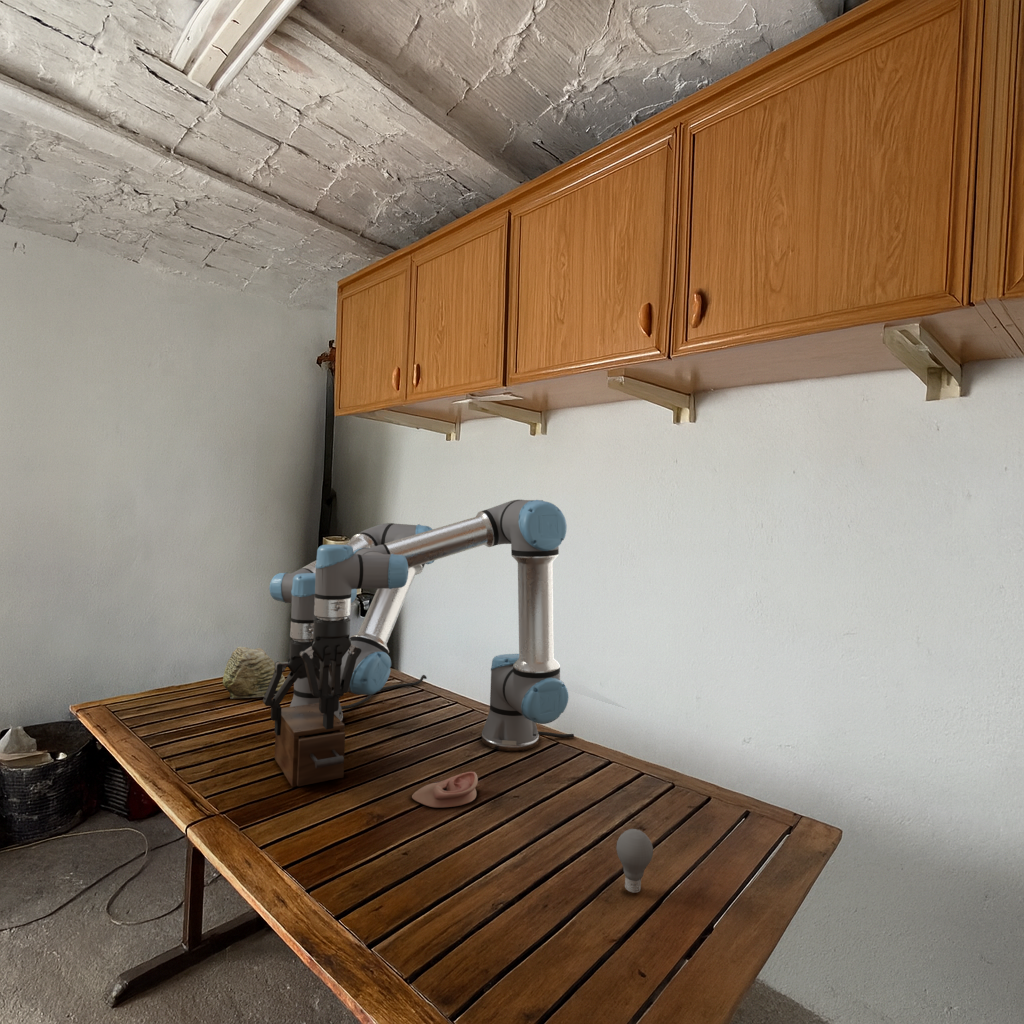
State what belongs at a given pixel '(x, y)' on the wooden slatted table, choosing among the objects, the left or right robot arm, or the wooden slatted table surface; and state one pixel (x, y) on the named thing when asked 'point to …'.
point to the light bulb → (634, 857)
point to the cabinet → (293, 726)
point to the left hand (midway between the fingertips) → (303, 729)
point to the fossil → (249, 673)
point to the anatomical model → (449, 791)
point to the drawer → (320, 757)
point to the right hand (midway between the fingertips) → (328, 726)
